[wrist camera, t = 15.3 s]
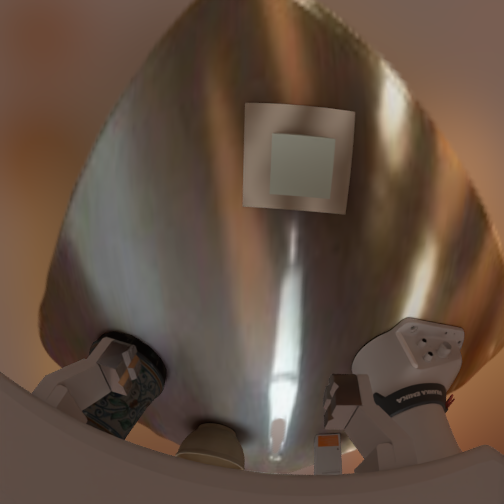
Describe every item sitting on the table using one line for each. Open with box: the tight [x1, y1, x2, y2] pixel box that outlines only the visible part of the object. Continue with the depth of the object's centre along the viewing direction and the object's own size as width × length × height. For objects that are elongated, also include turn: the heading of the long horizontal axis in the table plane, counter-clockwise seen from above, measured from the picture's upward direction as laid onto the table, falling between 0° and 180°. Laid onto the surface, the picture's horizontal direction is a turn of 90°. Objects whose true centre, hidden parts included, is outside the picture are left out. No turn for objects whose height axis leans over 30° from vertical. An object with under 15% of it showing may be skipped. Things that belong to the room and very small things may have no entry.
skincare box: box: [314, 433, 342, 475], centre depth 50 cm, size 6×4×12 cm
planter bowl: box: [175, 423, 245, 470], centre depth 53 cm, size 16×16×11 cm
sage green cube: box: [269, 133, 335, 199], centre depth 26 cm, size 5×5×6 cm
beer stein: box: [82, 332, 166, 440], centre depth 39 cm, size 16×19×25 cm
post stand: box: [243, 103, 355, 214], centre depth 27 cm, size 12×12×7 cm
